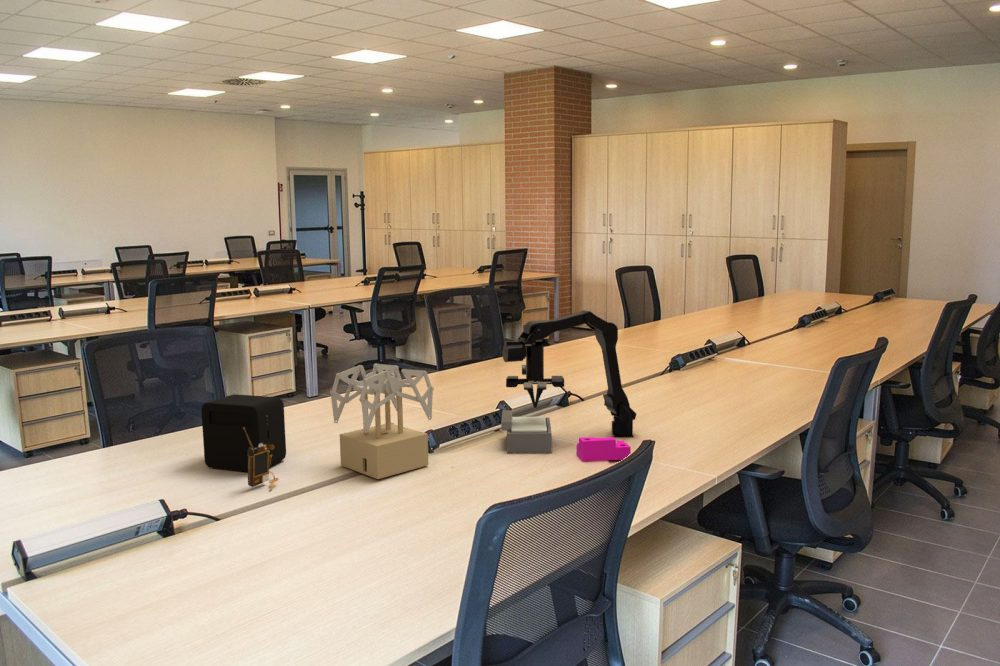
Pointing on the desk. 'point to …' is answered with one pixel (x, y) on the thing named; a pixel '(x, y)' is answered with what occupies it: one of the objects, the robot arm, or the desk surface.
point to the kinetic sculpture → (387, 443)
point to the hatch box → (530, 441)
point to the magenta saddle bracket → (601, 449)
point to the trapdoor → (522, 423)
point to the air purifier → (228, 436)
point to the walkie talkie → (259, 464)
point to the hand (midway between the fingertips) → (535, 407)
